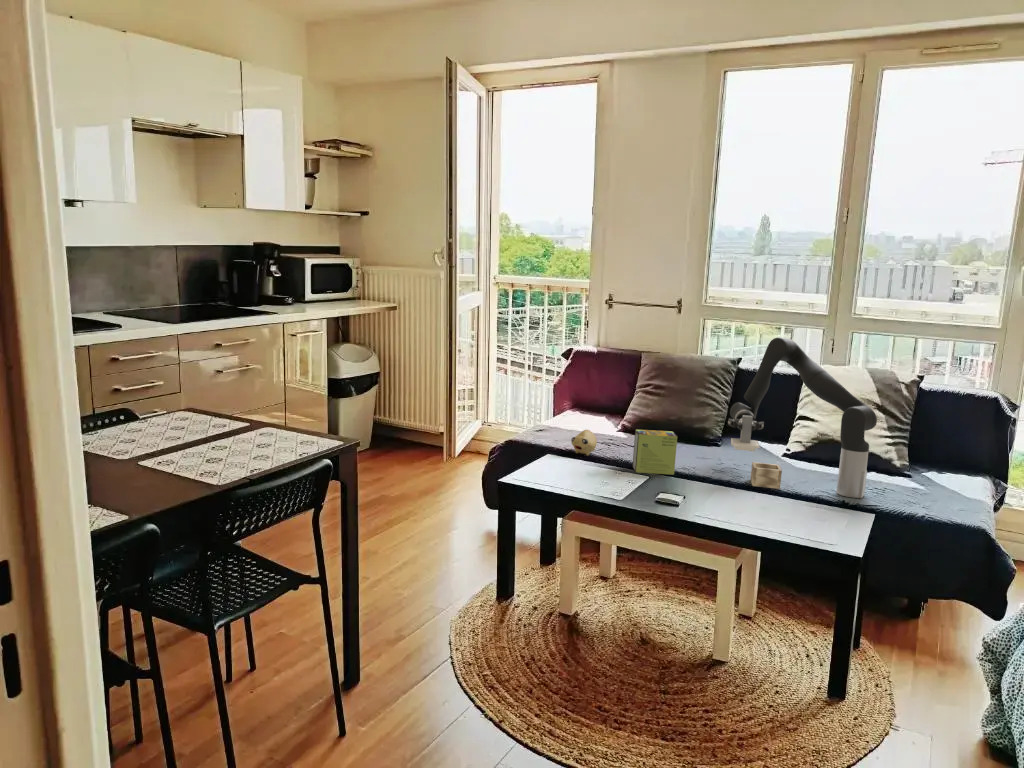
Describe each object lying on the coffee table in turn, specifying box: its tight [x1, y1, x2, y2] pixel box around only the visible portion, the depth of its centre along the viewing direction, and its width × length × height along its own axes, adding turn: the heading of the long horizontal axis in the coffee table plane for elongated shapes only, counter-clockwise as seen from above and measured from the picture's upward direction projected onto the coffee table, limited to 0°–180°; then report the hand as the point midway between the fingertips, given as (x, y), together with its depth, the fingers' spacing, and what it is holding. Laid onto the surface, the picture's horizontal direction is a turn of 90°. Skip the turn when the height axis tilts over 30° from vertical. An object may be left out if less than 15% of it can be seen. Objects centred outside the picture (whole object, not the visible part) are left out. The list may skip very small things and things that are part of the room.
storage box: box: [750, 461, 783, 490], centre depth 294 cm, size 10×10×7 cm
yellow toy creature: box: [570, 429, 598, 457], centre depth 329 cm, size 10×12×11 cm
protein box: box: [632, 429, 678, 476], centre depth 306 cm, size 10×15×16 cm
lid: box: [730, 415, 760, 452], centre depth 292 cm, size 10×10×12 cm
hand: (747, 427), depth 289 cm, fingers closed on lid, 3 cm apart
